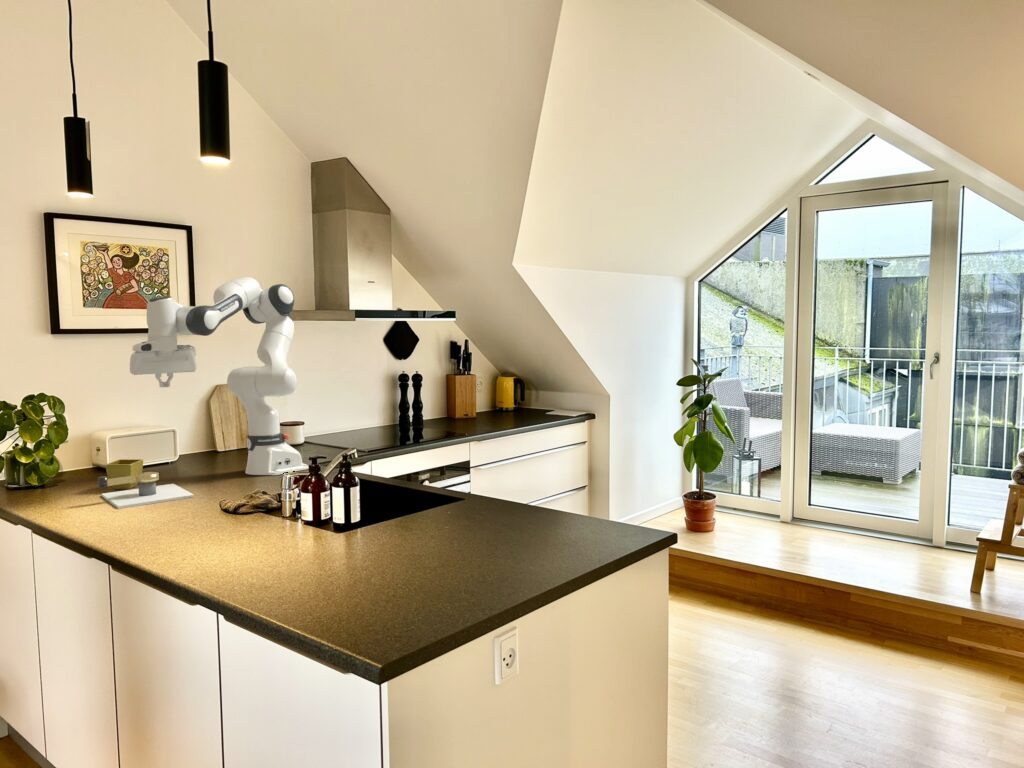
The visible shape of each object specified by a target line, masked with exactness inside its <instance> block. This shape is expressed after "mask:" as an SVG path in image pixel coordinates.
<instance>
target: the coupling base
mask: <svg viewBox="0 0 1024 768" xmlns="http://www.w3.org/2000/svg"><path fill="white" fill-rule="evenodd" d="M156 482H157V481H154V482H147V483H138V485H137V487H138V488H134V489H133V488H131V489H124V490H120V491H119V490H117V491H111V492H105V493H101V497H102V498H104V499H105V500H106V501H107V502H109V503H110V504H111V505H113V506H114V507H116V508H117V510H118V509H126V508H133V507H139V506H145V505H146V506H147V505H152V504H153V505H154V504H158V503H165V502H166V503H167V502H172V500H173V501H179V500H185V498H186V499H192V498H195V494H194V493H192V492H190V491H188V490H186V489H184V488H183V487H181V486H179V485H177V484H175V483H170V484H169V483H168V484H163V485H162V484H160V485H157V484H156ZM191 497H192V498H191Z"/></svg>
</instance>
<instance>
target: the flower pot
mask: <svg viewBox="0 0 1024 768" xmlns="http://www.w3.org/2000/svg"><path fill="white" fill-rule="evenodd" d="M104 465H105V470H106V477H108V479H112V478H120V477H127V476H134V475H135V474H138V473H143V467H144V459H143V458H141V459H140V458H139V459H138V458H137V459H135V458H134V459H133V458H132V459H129V458H128V459H125V458H124V459H117V460H114V461H111V462H108V463H106V464H104ZM111 486H112V487H113V489H114V490H132V489H133V488H134V487H138V483H137V482H133V483H126V484H118V485H111Z"/></svg>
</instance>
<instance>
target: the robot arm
mask: <svg viewBox="0 0 1024 768" xmlns="http://www.w3.org/2000/svg"><path fill="white" fill-rule="evenodd" d="M213 302H214V304H212V305H199V306H198V305H197V306H196V305H195V306H193V305H191V306H190V305H189V306H184V305H183V304H180V303H179V302H177V301H176V300H174V298H173V296H170V295H162V296H154V297H151V298H150V299H149V300H148V302H147V304H146V324H147V329H148V332H147V340H146V341H145V340H144V341H142V342H138V343H136V344H133V345H132V352H133V353H132V354H131V355H130V359H129V372H130V374H132V375H134V376H137V375H140V376H141V375H154V376H155V377H154V378H155V379H156V380H157V381H158V384H159V388H170V387H171V382H172V379H173V378H174V374H176V373H177V374H178V373H179V374H180V373H195V372H196V371H197V367H198V366H197V361H196V360H197V359H196V355H197V354H196V353H197V351H196V347H194V346H193V345H191V344H178V335H179V336H196V335H197V336H202V337H203V336H204V337H205V336H211V335H212V334H213V333H214V332H215V331H216V330H217V329H218V327H219V326H220V325H221V324H222V323H223V322H225V321H226V320H228V319H229V318H231V317H233V316H234V315H235V314H237V313H238V312H240V311H242V312H243V314H244V316H245V317H246V319H247V320H248V321H249V322H250V323H252V324H256V325H258V324H259V325H260V324H264V323H265V329H264V331H263V334H262V336H261V338H260V342H259V344H258V347H257V349H256V355H257V358H258V359H259V360H260V361H261V363H262V364H264V365H263V366H242V367H237V368H234V369H233V368H232V369H231V371H230V372H229V373H228V376H227V379H226V385H227V388H228V391H230V392H231V394H232V395H234V396H235V397H236V398H237V399H238V400H239V401H240V402H241V404H242V405H243V409H244V410H245V413H246V418H247V420H246V421H247V431H248V434H247V435H246V436H247V437H246V438H247V439H246V446H247V450H248V451H247V453H248V455H247V464H246V469H245V471H244V472H245V474H246V475H249V476H250V475H251V476H278V475H284V474H283V473H284V472H290V473H293V471H295V472H301V471H306V470H308V469H309V464H306V463H304V462H303V459H302V455H301V453H300V452H299V451H298V450H297V449H296V448H294V447H292V446H291V445H290V444H288V443H287V442H286V441H287V440H289V439H290V438H291V436H290V435H289V434H287V433H282V432H281V430H280V414H279V411H278V410H277V409H276V408H275V407H273V406H271V405H269V404H268V402H267V401H266V399H265V397H269V398H270V397H272V398H273V397H274V398H277V397H278V398H279V397H284V396H289V395H292V394H294V393H293V392H295V390H296V388H297V386H298V377H297V375H296V373H295V371H294V370H293V369H292V368H291V367H289V364H288V357H289V353H290V350H291V347H292V343H293V339H294V335H295V324H294V321H293V320H292V319H291V318H290V317H289V316H291V315H292V313H293V312H294V305H295V296H294V293H293V291H292V289H291V288H290V287H289V286H287V285H286V284H282V283H279V284H278V283H277V284H274V285H272V286H270V287H268V288H265V289H262V288H261V286H260V283H259V281H257V280H256V279H255V278H253V277H251V276H250V277H249V276H244V277H238V278H236V279H233V280H230V281H227V282H225V283H223V284H221V285H220V286H218V287H217V288H216V289H215V290H214V292H213ZM162 374H166V376H167V379H166V381H163V380H162ZM285 440H286V441H285Z"/></svg>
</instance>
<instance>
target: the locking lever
mask: <svg viewBox="0 0 1024 768" xmlns="http://www.w3.org/2000/svg"><path fill="white" fill-rule="evenodd" d="M159 475H160V474H159V472H157V471H147V472H146V471H145V472H142V473H138V474H135V475H134V476H127V477H120V478H112V479H108V476H107V475H106V476H105V475H104V476H100V477H97V480H98V481H97V482H98V488H106V487H109V486H112V485H118V484H126V483H133V482H137V483H147V482H154V481H156V482H157V481H159V480H160V476H159Z"/></svg>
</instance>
